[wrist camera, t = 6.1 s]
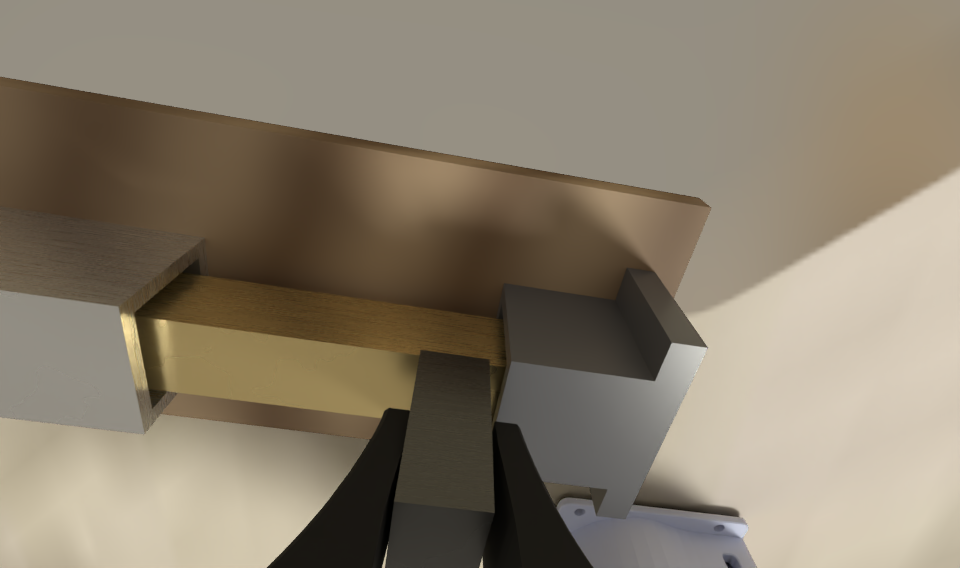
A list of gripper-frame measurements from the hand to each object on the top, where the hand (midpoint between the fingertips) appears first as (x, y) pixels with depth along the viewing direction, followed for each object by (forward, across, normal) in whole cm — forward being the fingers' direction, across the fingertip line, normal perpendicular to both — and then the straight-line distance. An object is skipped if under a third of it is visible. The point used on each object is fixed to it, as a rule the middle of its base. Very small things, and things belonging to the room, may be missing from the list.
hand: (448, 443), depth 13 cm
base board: (+6, +6, 0) cm, 9 cm away
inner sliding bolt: (+5, +4, 0) cm, 6 cm away
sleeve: (+5, +13, 0) cm, 14 cm away
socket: (+5, -3, 0) cm, 6 cm away
